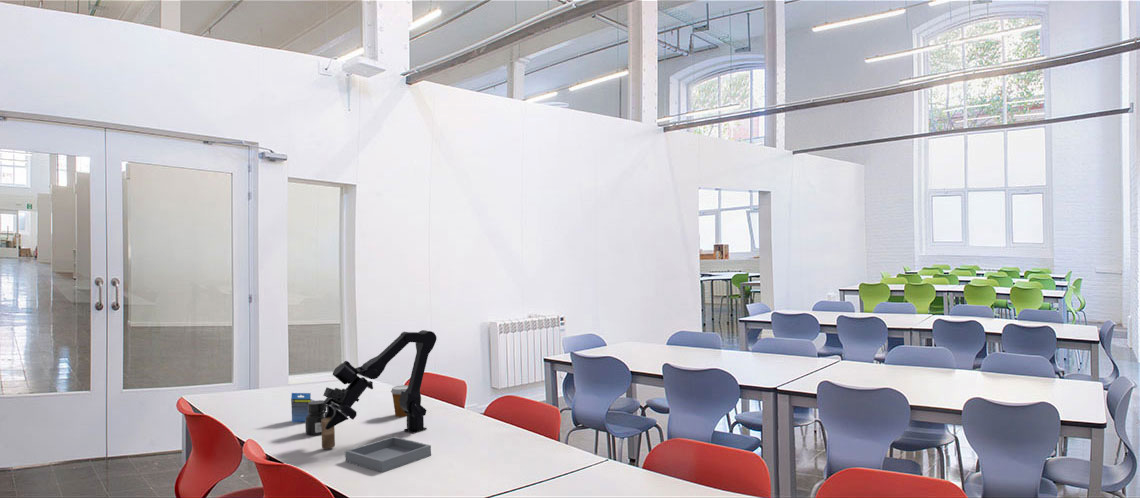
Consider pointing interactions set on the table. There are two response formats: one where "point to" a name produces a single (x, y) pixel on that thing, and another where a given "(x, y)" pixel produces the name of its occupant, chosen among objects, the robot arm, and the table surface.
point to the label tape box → (300, 406)
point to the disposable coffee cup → (396, 397)
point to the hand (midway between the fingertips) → (323, 427)
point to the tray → (388, 454)
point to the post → (327, 434)
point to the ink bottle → (315, 417)
